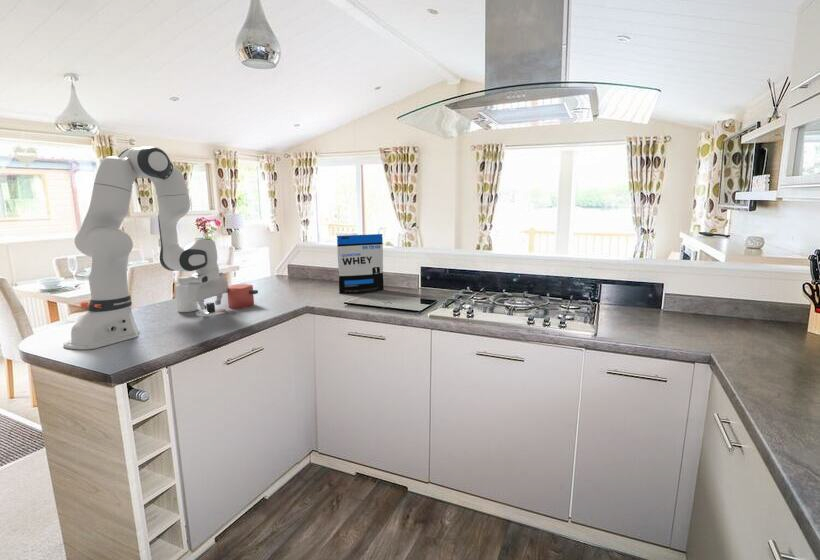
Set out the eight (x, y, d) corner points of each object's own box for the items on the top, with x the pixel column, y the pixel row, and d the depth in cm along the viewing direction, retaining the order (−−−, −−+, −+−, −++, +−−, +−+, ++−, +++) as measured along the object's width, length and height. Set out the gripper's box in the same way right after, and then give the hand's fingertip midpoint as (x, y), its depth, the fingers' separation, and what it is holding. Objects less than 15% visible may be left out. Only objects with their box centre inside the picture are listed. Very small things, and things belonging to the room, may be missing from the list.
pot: (250, 309, 192) (248, 289, 190) (217, 307, 196) (216, 288, 195) (264, 304, 202) (263, 285, 201) (233, 302, 207) (232, 283, 205)
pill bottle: (201, 308, 195) (198, 275, 192) (191, 312, 187) (187, 278, 185) (185, 308, 196) (181, 275, 193) (173, 312, 188) (170, 278, 185)
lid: (213, 317, 180) (212, 307, 179) (189, 316, 183) (188, 305, 182) (232, 311, 191) (231, 301, 191) (209, 309, 195) (208, 299, 194)
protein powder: (337, 292, 228) (334, 235, 222) (380, 288, 237) (379, 233, 232) (341, 295, 219) (339, 236, 214) (386, 291, 228) (385, 234, 223)
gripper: (218, 271, 195) (221, 301, 198) (184, 279, 176) (187, 312, 178) (230, 271, 193) (233, 301, 196) (197, 280, 174) (200, 313, 177)
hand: (211, 307), depth 187 cm, fingers open, 8 cm apart
